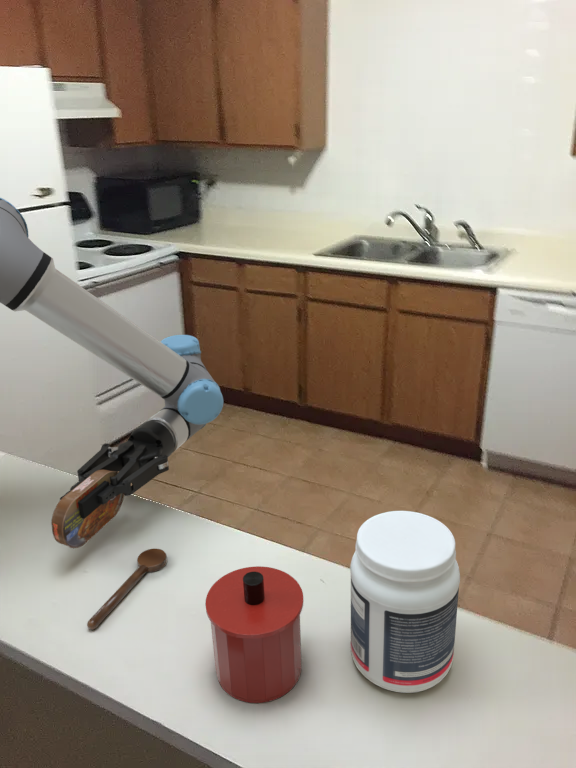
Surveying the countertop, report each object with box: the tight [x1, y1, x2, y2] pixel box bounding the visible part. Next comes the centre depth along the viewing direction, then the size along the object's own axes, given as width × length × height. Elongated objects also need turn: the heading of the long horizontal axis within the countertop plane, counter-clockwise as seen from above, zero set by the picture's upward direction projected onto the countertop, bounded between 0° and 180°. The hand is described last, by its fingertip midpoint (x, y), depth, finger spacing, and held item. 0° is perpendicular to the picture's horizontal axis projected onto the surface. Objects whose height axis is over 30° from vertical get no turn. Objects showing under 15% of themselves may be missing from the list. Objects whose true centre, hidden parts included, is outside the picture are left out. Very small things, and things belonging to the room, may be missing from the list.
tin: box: [50, 470, 125, 549], centre depth 104 cm, size 15×3×8 cm, turn 157°
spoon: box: [86, 548, 168, 631], centre depth 97 cm, size 17×4×1 cm, turn 157°
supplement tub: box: [349, 510, 461, 694], centre depth 81 cm, size 13×13×18 cm
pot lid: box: [205, 565, 304, 639], centre depth 79 cm, size 12×12×4 cm
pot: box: [210, 614, 302, 704], centre depth 82 cm, size 11×11×10 cm
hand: (72, 508), depth 101 cm, fingers closed on tin, 3 cm apart
